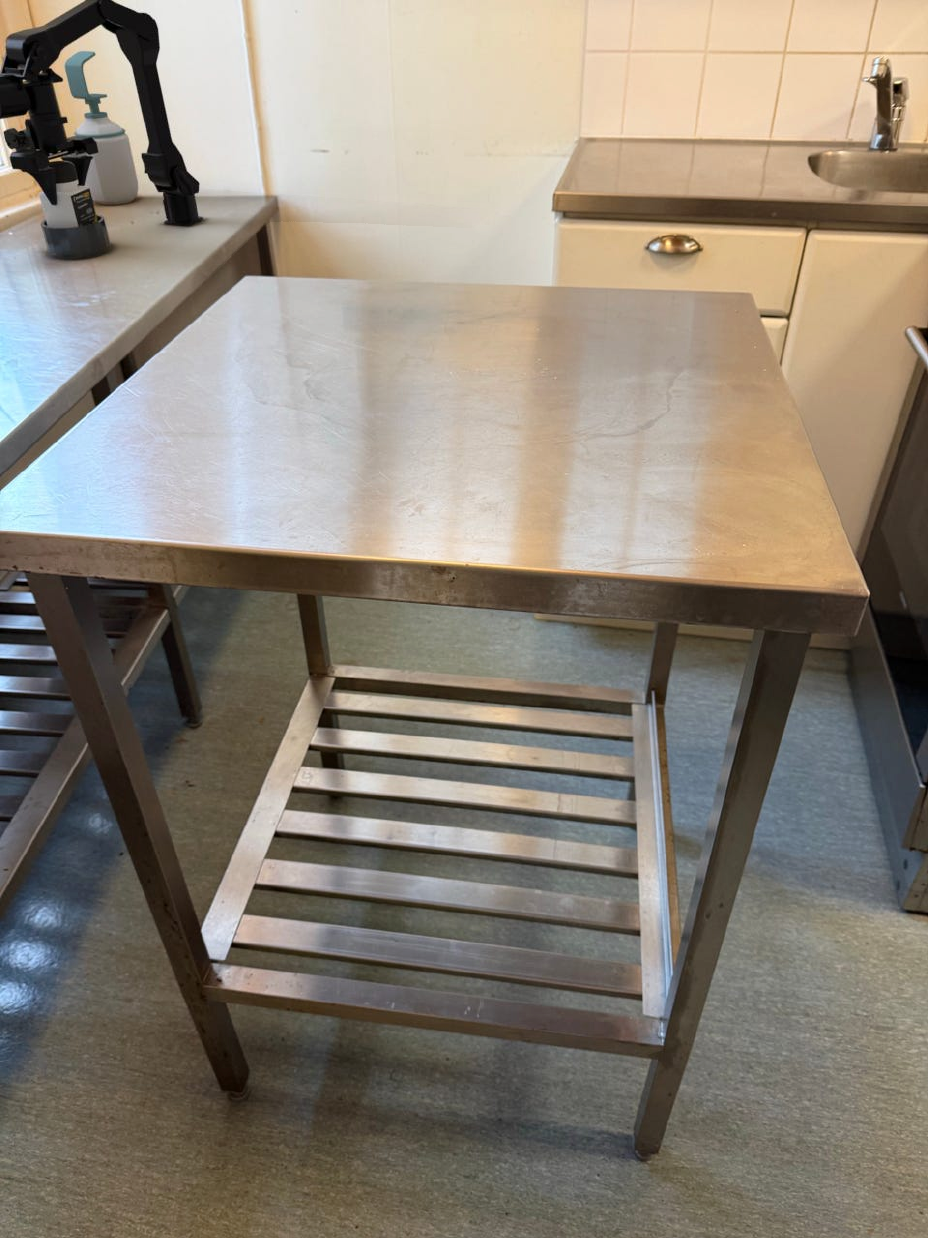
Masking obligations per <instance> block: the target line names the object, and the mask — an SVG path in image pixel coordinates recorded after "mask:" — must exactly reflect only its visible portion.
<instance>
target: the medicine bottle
mask: <svg viewBox="0 0 928 1238" xmlns="http://www.w3.org/2000/svg"><path fill="white" fill-rule="evenodd" d="M49 167H50V168H55V177H56V190H57V205H52V204H51V203H50V201H49V200H48V198H47V197H46V195H45V194H44V192H43V190H42V191H40V192H39V193H38V196H39V201H40V203H41V208H42V210H43V214H44V217H45V220H46V221H47V225H48V226H49V227H56V228H68V227H78V226H85V225H89V224H93V223H96V222H98V221H97V217H96V214H97V213H96V209H95V206H94V200H93V199H92V196H91V192H90V188H89V187H88V186H78V185H77V184H79V182H78V178H77V174H76V170H75V166H74V164H73V163H71V162H68V161H63V160H54V161H49Z"/></svg>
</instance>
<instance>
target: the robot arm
mask: <svg viewBox="0 0 928 1238" xmlns="http://www.w3.org/2000/svg"><path fill="white" fill-rule="evenodd" d="M100 26H101V27H102V28H103V29H105V30H106V31H108V32H110V33H111V34H113V35H115V37H116V40H117V42H118V46H119V49H120V50H121V51H122V53H123V55H124V56H125V58H126V60H127V61H128V62H129V64H130V66H131V69H132V74H133V78H134V79H133V80H134V83H135V87H136V92H137V96H138V101H139V106H140V109H141V110H140V111H141V114H142V118H143V122H144V127H145V132H146V137H147V141H148V146H147V149H146V152H141V160H142V162H143V166H144V172H143V173H144V175H145V174H146V175H147V177H148V179H149V181H150V182H151V183H152V184H153V185H154V187H155V189H156V191H157V193H162V196H163V199H162V204H163V208H164V213H165V218H166V220H164V221H163V223H164V225H174V226H186V227H188V226H191V225H194V224H196V223H197V222H200V221H203V220H204V216H200V215H199V211H198V205H197V199H196V194H199V193H200V186H201V185H200V184H201V183H200V181H198V180H197V179H196V178H195V177H194V176H193V175H192V174H191V173H190V172H189V171H188V169H187V166H186V163H185V159H184V156H183V155H182V153H181V152H180V150H179V149H178V147H177V146H176V144H175V143H174V141H173V138H172V132H171V128H170V123H169V118H168V114H167V108H166V104H165V99H164V95H163V94H164V93H163V89H162V85H161V79H160V76H159V70H158V66H157V65H158V64H157V62H158V58H159V54H160V50H161V44H160V31H159V27H158V23H157V21H156V19H154V18H153V17H152V16H151V15H150V14H148V13H147V12H139V11H137V10H134V9H132V8H129V7H127V6H124V5H123V4H120V3H118V2H116V1H114V0H84V1H82V2H79V4H77V5H75V6H74V7H72V8H70V9H69V10H67V11H65V12H63V13H62V14H60V15H59V16H56V18H53V19H51V20H50V21H49V22H47V23H45V24H43V25H41V26H36V27H32V28H27V29H23V30H19V31H16V32H12V33H10V34H9V35H8V36H7V37H6V38H5V47H4V48H5V53H4V57H3V60H2V64H1V68H0V120H4V119H10V118H15V117H23V116H26V115H27V114H28V117H29V118H25V120H24V126H25V128H24V129H23V130H19V131H18V130H17V129H16V128H15V127H12V128H7V129H5V130H4V131H2V133H3V138H4V141H5V143H6V146H7V147H8V149H10V150H15V151H13V152H12V151H11V153H10V155H9V157H8V159H9V162H10V166H11V168H12V170H20V171H21V172H22V173H27V174H28V175H29V176H31V177H32V178H33V179H34V181H35V182H36V183H37V185H38V186H39V187H40V189H41V190H42V191H43V192H44V194H45V195H46V197H47V198H48V200H49V201H50V203H51V204H52V205H57V190H56V177H55V168H50V167H49V162H50V161H51V160H55V159H59V158H60V159H61V161H68V162H71V163H73V164H74V166H75V170H76V174H77V178H78V182H79V184H77V185H78V186H85V182H86V177H87V173H88V169H89V166H90V162H91V160H92V159H93V156H87V154H88V155H92V154H95V153H99V151H98V147H97V143H96V141H95V140H94V139H93V138H92V137H81V136H75V135H73V136H67V132H66V129H65V124H68V123H69V121H68V117H67V116H62V113H61V109H60V105H59V100H58V96H57V93H56V90H55V85H54V84H56V83H63V82H64V78H63V77H62V76H60V75H59V74H58V73H57V72H55V71H54V70H53V69H52V68H51V67H52V65H53V64H55V62H56V61H57V60H58V59H59V57H60V56H61V52H62V51H63V50H64V49H65V48H66V47H68V46H69V45H71V44H72V43H74V42H75V41H77V40H79V39H81V38H82V37H83V36H85V35H87V34H88V33H90V32H92V31H93V30H95V29H97V28H98V27H100Z"/></svg>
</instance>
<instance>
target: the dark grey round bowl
mask: <svg viewBox="0 0 928 1238" xmlns="http://www.w3.org/2000/svg"><path fill="white" fill-rule="evenodd" d="M96 217H97V221H98V222H96V223H93V224H89V225H85V226H78V227H68V228H56V227H49V226H48V225H47V221H46V219H44V220H42V221H41V222H40V227H41V231H42V234H43V238H44V241H45V245H46V249H47V252H48V254H49V256H50V257H51V258H53V259H56V260H64V261H66V260H67V261H74V260H84V259H85V260H87V259H91V258H96V257H100V256H103V255H105V254H108V253H109V252H111V250H112V245H111V239H110V235H109V231H108V230H109V229H108V227H107V222H106V219H105V216H104V215H102V214H99V213H96Z"/></svg>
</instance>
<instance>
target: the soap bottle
mask: <svg viewBox="0 0 928 1238" xmlns="http://www.w3.org/2000/svg"><path fill="white" fill-rule="evenodd" d="M95 56H96V52H95V51H89V50H88V51H87V50H80V51H77V52H76V53H74V54H73V55H72V56H70V57H69V58H67V59H66V60H65V63H64V70H65V74H66V78H67V83H68V88H69V91H70V94H71V96H72V97H73V98H74V99H78V100H84V104H85V105H87V106H88V107H89V112H85V113H84V114H83V116H84V121H83V122H82V124H80V125H79V126H78V127H77V129H76V131H74V132H73V136H81V137H92V138H93V139H94V140H95V141H96V143H97V147H98V151H99V153H95V154H92V155H88V154H87V156H93V159H92V160H91V162H90V166H89V169H88V173H87V177H86V182H85V186H88V187H89V188H90V192H91V196H92V200H93V202H95V203H97V204H99V205H103V206H116V205H124V204H128V203H131V202H133V201H134V200H135V198H136V197H137V196H138V193H139V180H138V175H137V170H136V166H135V162H134V157H133V152H132V147H131V143H130V138H129V135H128V134H127V133H126V129H125V128H124V127H121V126H120V125H119V124H118V123H116V122H114V121H112V120H111V119H110V118H109V116H108V112H106V111H100V106H99V105H100V104H102V101H101V99H105V98H108V95H107V93H90V92H89V90H88V85H87V82H86V81H87V80H86V77H85V73H84V66H85V63H87V62H89V60H91V59H93V57H95Z"/></svg>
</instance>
